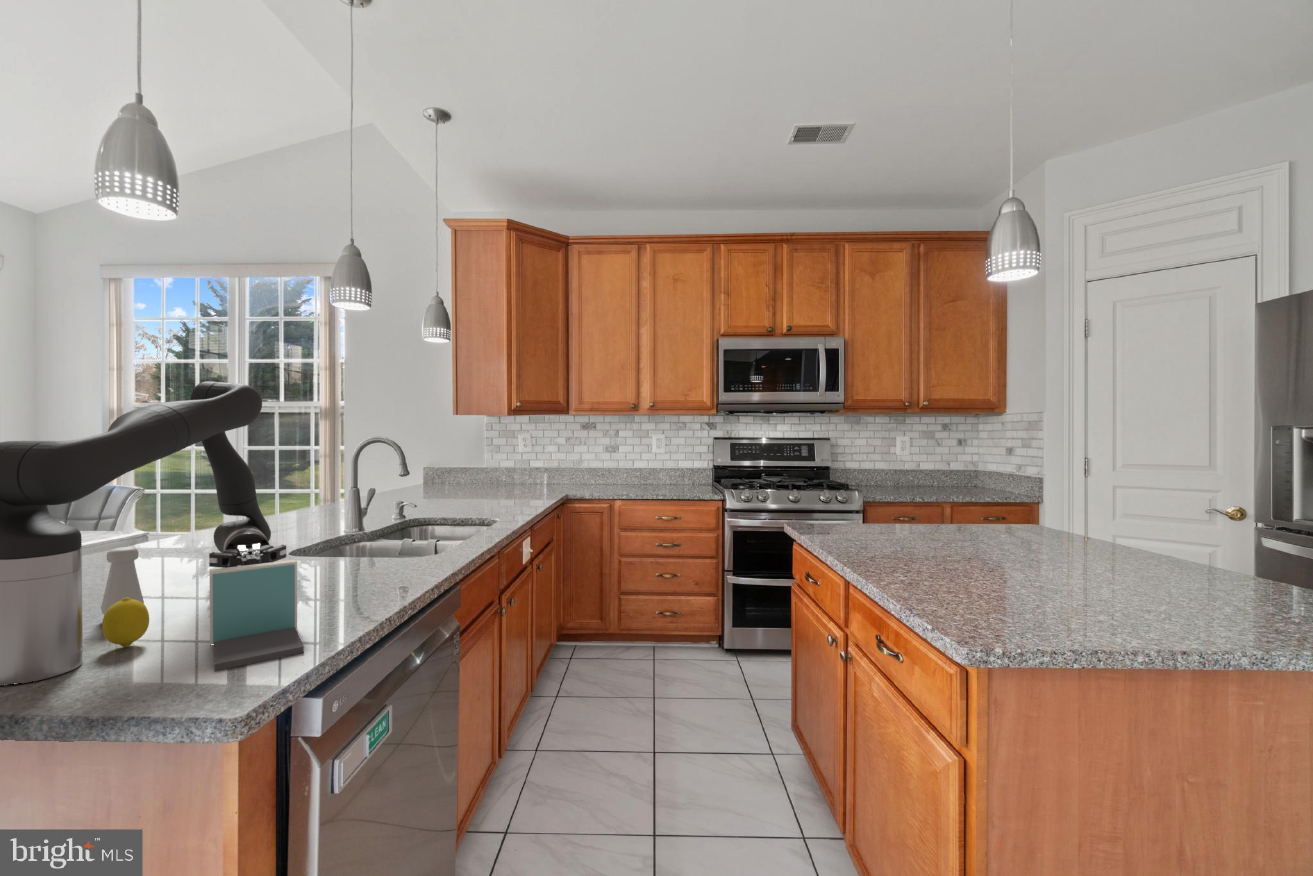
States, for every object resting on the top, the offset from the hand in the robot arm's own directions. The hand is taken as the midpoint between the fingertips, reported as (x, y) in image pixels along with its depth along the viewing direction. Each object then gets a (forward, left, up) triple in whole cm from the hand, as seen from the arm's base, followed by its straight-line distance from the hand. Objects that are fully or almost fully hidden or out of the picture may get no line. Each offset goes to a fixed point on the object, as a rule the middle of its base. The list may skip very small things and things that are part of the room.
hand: (251, 564), depth 104 cm
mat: (0, -19, -10) cm, 21 cm away
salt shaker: (-19, +15, -10) cm, 26 cm away
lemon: (-17, -4, -10) cm, 20 cm away
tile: (0, -11, -10) cm, 15 cm away
